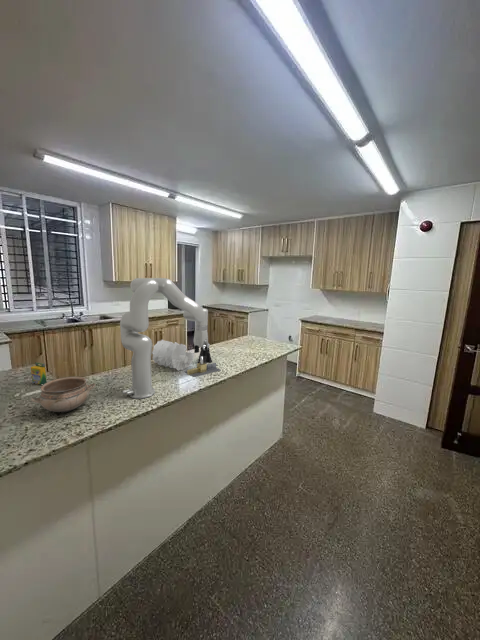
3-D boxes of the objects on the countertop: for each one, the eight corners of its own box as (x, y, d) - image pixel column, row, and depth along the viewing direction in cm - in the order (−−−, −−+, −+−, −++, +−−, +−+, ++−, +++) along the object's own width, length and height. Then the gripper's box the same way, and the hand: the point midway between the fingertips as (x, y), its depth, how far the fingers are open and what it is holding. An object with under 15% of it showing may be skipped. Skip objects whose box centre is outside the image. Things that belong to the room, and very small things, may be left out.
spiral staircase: (180, 378, 173) (154, 369, 185) (197, 361, 185) (171, 353, 197) (172, 357, 163) (144, 348, 176) (190, 340, 175) (163, 333, 188)
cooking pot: (89, 394, 139) (88, 371, 137) (103, 407, 126) (101, 382, 124) (29, 410, 121) (26, 385, 119) (37, 427, 108) (34, 399, 106)
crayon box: (32, 383, 150) (29, 363, 148) (37, 381, 153) (35, 362, 151) (41, 385, 148) (39, 365, 146) (47, 383, 151) (45, 363, 149)
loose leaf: (189, 375, 166) (189, 368, 166) (186, 373, 170) (186, 366, 169) (206, 371, 174) (206, 364, 174) (202, 369, 178) (202, 362, 177)
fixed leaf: (201, 372, 173) (201, 357, 171) (199, 370, 175) (199, 356, 173) (217, 368, 181) (217, 354, 179) (214, 367, 183) (214, 353, 181)
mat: (193, 378, 164) (193, 377, 164) (184, 372, 173) (183, 371, 173) (221, 370, 177) (221, 370, 177) (211, 365, 186) (211, 365, 186)
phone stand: (203, 366, 186) (203, 349, 184) (197, 364, 190) (197, 347, 188) (212, 362, 193) (212, 346, 191) (206, 361, 197) (206, 345, 195)
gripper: (189, 326, 174) (188, 352, 176) (203, 330, 161) (203, 358, 163) (199, 325, 179) (198, 350, 181) (214, 329, 166) (213, 356, 168)
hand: (200, 354), depth 172 cm, fingers open, 9 cm apart
